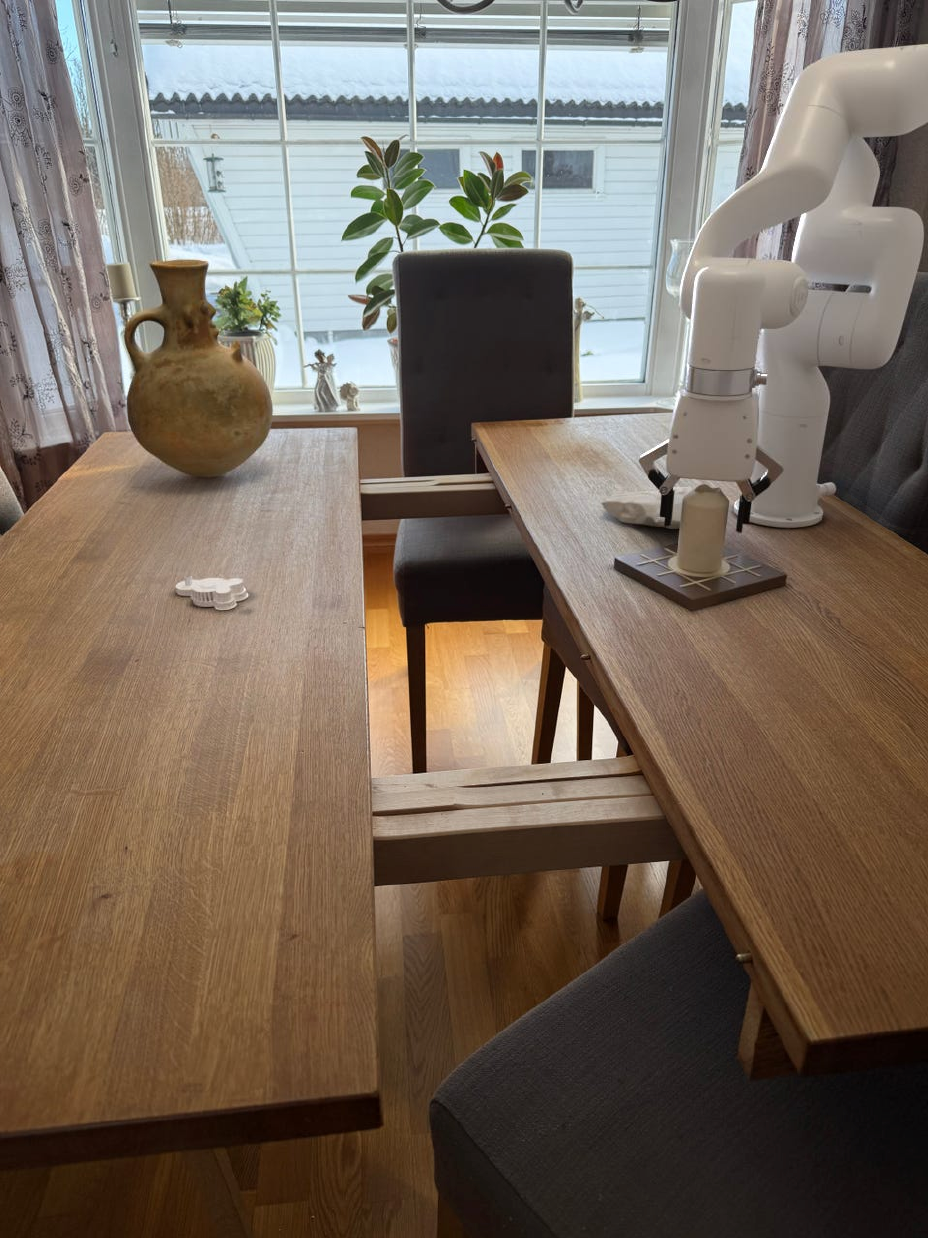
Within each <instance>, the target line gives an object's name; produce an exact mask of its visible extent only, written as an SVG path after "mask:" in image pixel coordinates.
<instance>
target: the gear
mask: <svg viewBox="0 0 928 1238" xmlns="http://www.w3.org/2000/svg"><path fill="white" fill-rule="evenodd" d="M183 579H184V580H182V581H179V582H178V583H176V584H175V591H176V594H177V595H178V596H183V597H190V598H191V600H192V602H193V604H194V605H195V606H197V607H201V608H202V607H203V608H208V607H209V608H210V607H211V608H212V607H214V609H215V610H217V611H230V610H233V609H234V608H236V607H237V605H238V603H237V602H241V601H245V600H246V599H248V598H249V595H250V594H249V592H247V588H246V587H245V585H244V580H243V579H242V578H241V577H240V578H239V577H234V578H229V579H225V578H221V577H206V578H203V579H202V578H201V579H193V576H192V574H185V575H183Z"/></svg>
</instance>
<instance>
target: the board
mask: <svg viewBox="0 0 928 1238" xmlns="http://www.w3.org/2000/svg"><path fill="white" fill-rule="evenodd" d="M677 552H678V542H676V543H671V544H667V545H663V546H658V547H655V548H650V549H646V550H645V549H644V550H642V551H636V552H633V553H632V552H631V553H627V554H623V555H620V556H616V557H613V558H614V560H613V569H614V570H616V571H618V572H621V573H622V574H623V575H626V576H628V577H629V578H631V579H634V580H635V581H636V582H638V583H640V584H642V585H644V586H646V587H647V588H648V589H650V590H653V591H655V592H656V593H658V594H660V595H662V596H663V597H665V598H667V599H669V600H670V601H672V602H674V603H676V604H679V605H680V606H681V607H683V608H685V609H687V610H689V611H690V612H694V611H697V610H700V609H704V608H708V607H710V606H711V607H712V606H715V605H718V604H722V603H725V602H729V601H732V600H736V599H741V598H743V597H747V596H751V595H755V594H759V593H762V592H766V591H769V590H773V589H776V588H780V587H784V586H786V583H787V577H788V573H786V572H783V571H781V570H779V569H777V568H774V567H772V566H769V565H768V564H766V563H763V562H761V561H758V560H756V559H754V558H752V557H750V556H747V555H745V554H743V553H740V552H739V551H736V550H734V549H732V548H729V547H727V546H725V545H724V550H723V558H722V565H721V568H720V569H718V570H716V571H713V572H704V573H702V572H692V571H688V570H685V569H683V568H681V567H679V566H678V564H677Z"/></svg>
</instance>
